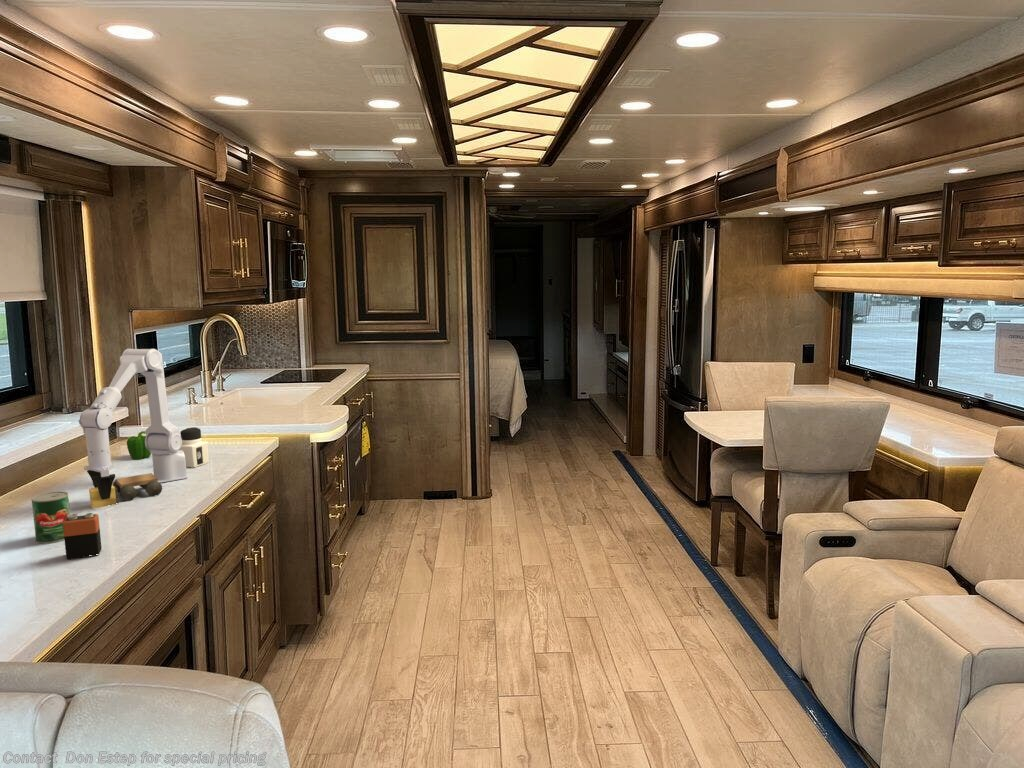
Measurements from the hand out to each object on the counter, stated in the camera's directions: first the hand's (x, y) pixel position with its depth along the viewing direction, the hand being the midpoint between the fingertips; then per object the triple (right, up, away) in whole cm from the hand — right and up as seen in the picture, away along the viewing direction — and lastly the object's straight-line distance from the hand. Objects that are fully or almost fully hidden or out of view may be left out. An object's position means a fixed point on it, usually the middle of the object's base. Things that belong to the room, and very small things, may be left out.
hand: (103, 495), depth 212 cm
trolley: (+5, -1, +10) cm, 11 cm away
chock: (0, -3, 0) cm, 3 cm away
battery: (+17, -8, -38) cm, 43 cm away
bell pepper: (-17, +5, +55) cm, 58 cm away
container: (+7, +4, +45) cm, 45 cm away
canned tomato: (+3, -7, -27) cm, 28 cm away
